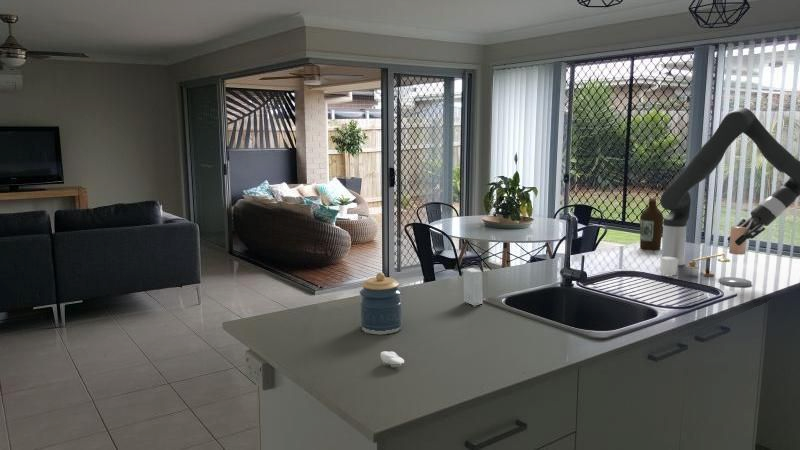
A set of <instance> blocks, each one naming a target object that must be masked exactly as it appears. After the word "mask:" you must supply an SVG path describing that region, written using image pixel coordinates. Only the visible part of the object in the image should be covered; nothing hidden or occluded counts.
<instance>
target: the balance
mask: <svg viewBox="0 0 800 450" xmlns="http://www.w3.org/2000/svg"><path fill="white" fill-rule="evenodd" d="M725 255H726V254H725V253H724V252H723V253H718V254H713V255H708V256H703V257H699V258H693V259H691V260H690V261H689V264H687V265H686V266H685V267H686V268H688V269H694V270H695V269H699V266H698V265H696V263H697V262H698V261H702V260H705V270H701V271H700V274H701V273H702V274H703V275H704V276H703V275H702V274H701V275H702V276H703V277H713V276H714V277H715V274H714V273H713V272H712V271H710V267H711V258H713V259H714V258H717V261H718V262H721V263H730V262H731V260H730V259H728V258H725ZM721 256H722V258H718V257H721Z"/></svg>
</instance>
